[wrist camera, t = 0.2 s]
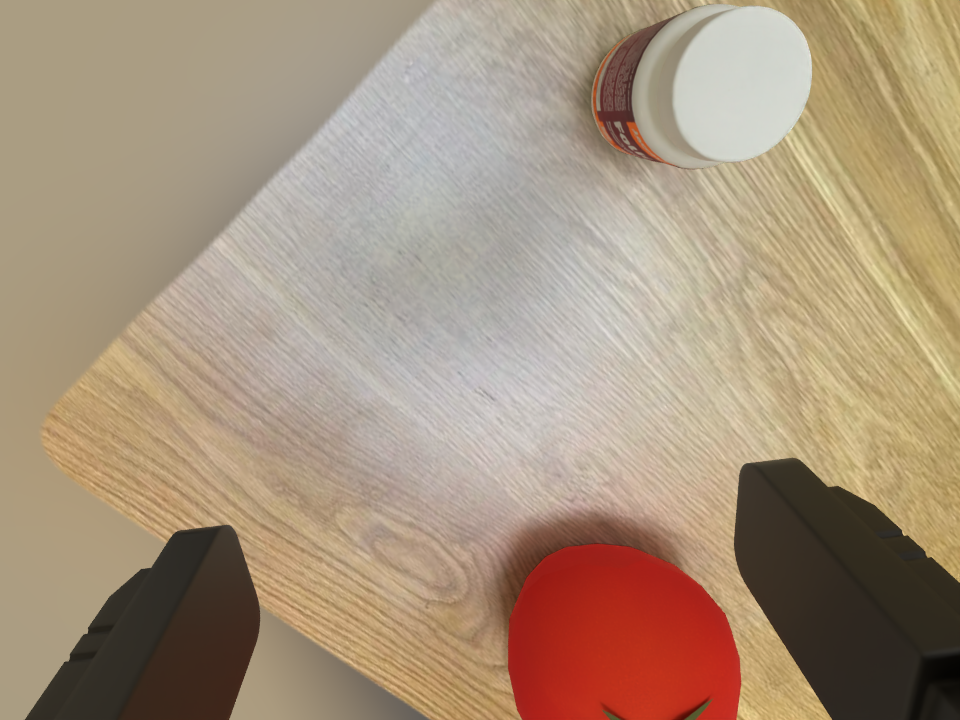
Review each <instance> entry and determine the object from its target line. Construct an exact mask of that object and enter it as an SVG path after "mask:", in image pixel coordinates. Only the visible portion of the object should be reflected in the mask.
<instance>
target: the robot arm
mask: <svg viewBox="0 0 960 720" xmlns="http://www.w3.org/2000/svg"><path fill="white" fill-rule="evenodd" d="M734 550H735V556H736V561H737V565H738V568H739V571H740V573H741V576H742V578H743V580H744V582H745V584H746V585H747V587H748V589H749V590H750V592H751V593H752V595H753V596H754V598H755V600H756V601H757V603H758V604H759V606H760V607H761V609H762V610H763V612H764V614H765V615H766V617H767V618H768V620H769V621H770V623H771V625H772V626H773V628H774V629H775V631H776V632H777V634H778V636H779V637H780V639H781V640H782V642H783V643H784V645H785V646H786V648H787V650H788V651H789V653H790V654H791V656H792V657H793V659H794V661H795V662H796V664H797V665H798V667H799V668H800V670H801V672H802V673H803V675H804V676H805V678H806V679H807V681H808V682H809V684H810V686H811V687H812V689H813V690H814V692H815V693H816V695H817V697H818V698H819V700H820V701H821V703H822V704H823V706H824V708H825V709H826V711H827V712H828V714H829V715H830V717H831V718H832V720H960V583H959V582H958V581H957V580H956V579H955V578H954V577H953V576H951V575H950V574H949V573H948V572H947V571H946V570H945V569H944V568H943V567H942V566H940V565H939V564H938V563H937V562H936V561H935V560H934V559H933V558H932V557H931V558H927V556H926V554H925V551H924V550H923V549H922V548H921V547H920V546H919V545H917V544H916V543H915V542H914V541H913V540H912V539H911V538H910V537H909V536H908V535H907V536H904V535H903V534H902V530H901V529H900V528H899V527H898V526H897V525H896V524H894V523H893V522H892V521H891V520H890V519H889V518H888V517H887V516H886V515H885V514H884V513H882V512H881V511H880V510H879V509H878V508H877V507H876V506H875V505H873V504H871V503H869V502H867V501H865V500H864V499H862V498H860V497H858V496H856V495H854V494H852V493H850V492H848V491H847V490H845V489H843V488H841V487H839V486H834V487H827V486H826V485H825V484H824V483H823V482H822V481H821V480H820V479H819V478H818V477H817V476H816V475H815V474H814V473H813V472H812V471H811V470H810V469H809V468H808V467H807V466H806V465H805V464H804V463H803V462H802V461H800V460H799V459H796V458H788V459H779V460H771V461H763V462H755V463H746V464H744V465H743V467H742V468H741V471H740V475H739V485H738V498H737V510H736V523H735V535H734ZM259 626H260V608H259V601H258V597H257V594H256V591H255V588H254V585H253V582H252V579H251V576H250V573H249V570H248V567H247V564H246V561H245V558H244V555H243V552H242V549H241V546H240V543H239V540H238V537H237V534H236V532H235V530H234V529H233V528H232V527H231V526H230V525H222V526H213V527H205V528H197V529H189V530H181V531H177V532H176V533H174V534H173V535H172V537H171V538H170V539H169V541H168V543H167V544H166V546H165V547H164V549H163V550H162V552H161V553H160V555H159V557H158V558H157V560H156V561H155V563H154V564H153V566H152V568H147V569H141V570H140V571H139V572H137V573H136V574H135V575H134V576H133V577H132V578H131V579H129V580H128V581H127V582H126V583H125V584H124V585H123V586H121V587H120V588H119V589H118V590H117V591H116V592H115V593H114V594H112V595H111V596H110V597H109V598H108V600H107V601H106V603H105V604H104V606H103V607H102V608H101V610H100V611H99V613H98V614H97V616H96V617H95V619H94V620H93V622H92V623H91V624H90V626H89V627H88V634H84V635H83V636H82V637H81V639H80V641H79V642H78V643H77V645H76V646H75V648H74V649H73V651H72V652H71V653H70V660H69V661H68V662H64V664H63V665H62V666H61V668H60V669H59V671H58V672H57V674H56V675H55V677H54V678H53V680H52V681H51V682H50V684H49V685H48V687H47V689H46V690H45V691H44V693H43V694H42V695H41V697H40V698H39V700H38V701H37V703H36V704H35V706H34V707H33V709H32V710H31V712H30V713H29V715H28V716H27V717H26V719H25V720H229V718H230V715H231V713H232V710H233V707H234V704H235V702H236V699H237V696H238V693H239V690H240V687H241V685H242V682H243V679H244V676H245V673H246V670H247V668H248V665H249V662H250V659H251V656H252V653H253V651H254V647H255V645H256V642H257V638H258V634H259Z"/></svg>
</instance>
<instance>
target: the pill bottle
mask: <svg viewBox="0 0 960 720" xmlns="http://www.w3.org/2000/svg"><path fill="white" fill-rule="evenodd" d="M811 80H812V60H811V54H810V50H809V47H808V44H807V41H806V39H805V37H804V35H803V33H802V32H801V30H800V29H799V28H798V26H797V25H796V24H795V23H794V22H793V21H792V20H791V19H790V18H788V17H787V16H786V15H784V14H783V13H781V12H779V11H777V10H774V9H771V8H768V7H762V6H743V7H738V6H734V5H728V4H709V5H704V6H699V7H695V8H693V9H691V10H688V11H686V12H683V13H681V14H678V15H676V16H674V17H671V18H669V19H667V20H664V21H661V22H659V23H657V24H654V25H652V26H650V27H647V28H644V29H641V30H639V31H637V32H635V33H632V34H630V35H629V36H627V37H625V38H624V39H622V40H621V41H620V42H618V43H617V44H616V45H615V46H614V47H613V48H612V49H611V50H610V51H609V52H608V54H607V55H606V56H605V58H604V59H603V61H602V63H601V64H600V66H599V68H598V71H597V73H596V76H595V79H594V82H593V86H592V95H591V106H592V113H593V117H594V120H595V123H596V125H597V128H598V130H599V131H600V133H601V135H602V136H603V137H604V139H605V140H606V141H607V142H608V143H609V144H610V145H611V146H613V147H614V148H615V149H617V150H619V151H621V152H623V153H625V154H629V155H632V156H637V157H639V158H644V159H648V160H651V161H656V162H661V163H666V164H669V165H673V166H676V167H678V168H684V169H703V168H708V167H713V166H717V165H720V164H722V163H733V162H741V161H746V160H749V159H752V158H755V157H757V156H759V155H761V154H763V153H765V152H767V151H768V150H770V149H771V148H773V147H774V146H775V145H777V144H778V143H779V142H780V141H781V140H782V139H783V138H784V137H785V136H786V135H787V134H788V133H789V132H790V130H791V129H792V128H793V126H794V125H795V124H796V122H797V121H798V119H799V117H800V115H801V113H802V111H803V109H804V107H805V105H806V102H807V99H808V96H809V92H810V87H811Z"/></svg>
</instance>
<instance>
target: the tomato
mask: <svg viewBox="0 0 960 720" xmlns="http://www.w3.org/2000/svg"><path fill="white" fill-rule="evenodd" d="M508 670H509V675H510V679H511V684H512V688H513V693H514V697H515V702H516V706H517V710H518V712H519V714H520V716H521V718H522V720H736V718H737V711H738V703H739V696H740V689H741V673H740V658H739V655H738V651H737V648H736V645H735V641H734V638H733V635H732V631H731V628H730V625H729V623H728V620H727V618H726V615H725V613H724V612H723V611H722V610H721V608H720V607H719V606H718V605H717V604H716V603H715V601H714V600H713V599H712V598H711V597H710V595H709V594H708V593H707V592H706V591H705V590H704V588H703V587H702V586H701V585H699V584H698V583H697V582H696V581H694V580H693V579H692V578H691V577H689V576H688V575H687V574H685V573H684V572H683V571H682V570H680V569H679V568H678V567H677V566H675V565H673V564H671V563H669V562H666V561H664V560H662V559H659V558H657V557H654V556H652V555H650V554H647V553H645V552H642V551H640V550H638V549H635V548H632V547H628V546H617V545H607V544H588V545H579V546H570V547H565V548H563V549H561V550H559V551H556V552H554V553H552V554H550V555H548V556H546V557H545V558H544V559H543V560H542V561H541V562H540V563H539V564H538V565H537V566H536V567H535V569H534V570H533V571H532V572H531V573H530V574H529V575H528V576H527V578H526V580H525V583H524V585H523V587H522V590H521V592H520V594H519V597H518V599H517V601H516V604H515V606H514V609H513V611H512V614H511V616H510V619H509V638H508Z"/></svg>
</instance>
